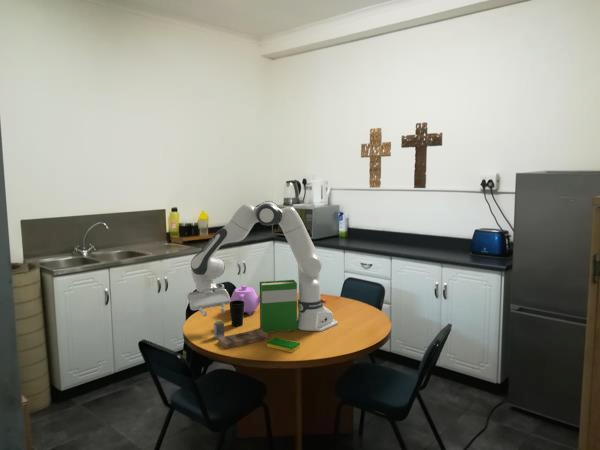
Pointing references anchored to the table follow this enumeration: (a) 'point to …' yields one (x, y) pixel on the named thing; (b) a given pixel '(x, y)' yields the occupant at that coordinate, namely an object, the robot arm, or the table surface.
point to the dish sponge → (283, 344)
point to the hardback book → (278, 305)
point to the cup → (237, 312)
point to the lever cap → (218, 329)
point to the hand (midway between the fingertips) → (214, 314)
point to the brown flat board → (243, 338)
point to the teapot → (246, 298)
